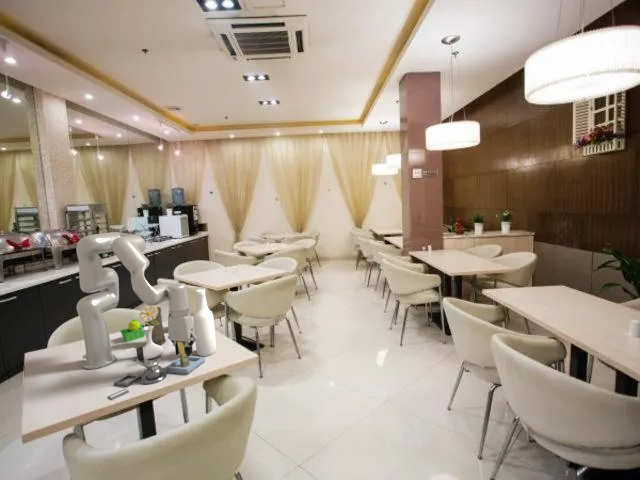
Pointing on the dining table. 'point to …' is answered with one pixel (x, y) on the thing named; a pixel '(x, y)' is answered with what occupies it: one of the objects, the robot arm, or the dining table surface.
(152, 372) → the crank housing
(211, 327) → the alcohol
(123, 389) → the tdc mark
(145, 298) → the robot arm
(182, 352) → the peg
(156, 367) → the crank
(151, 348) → the flower in vase
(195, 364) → the tray
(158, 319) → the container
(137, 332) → the fruit basket
